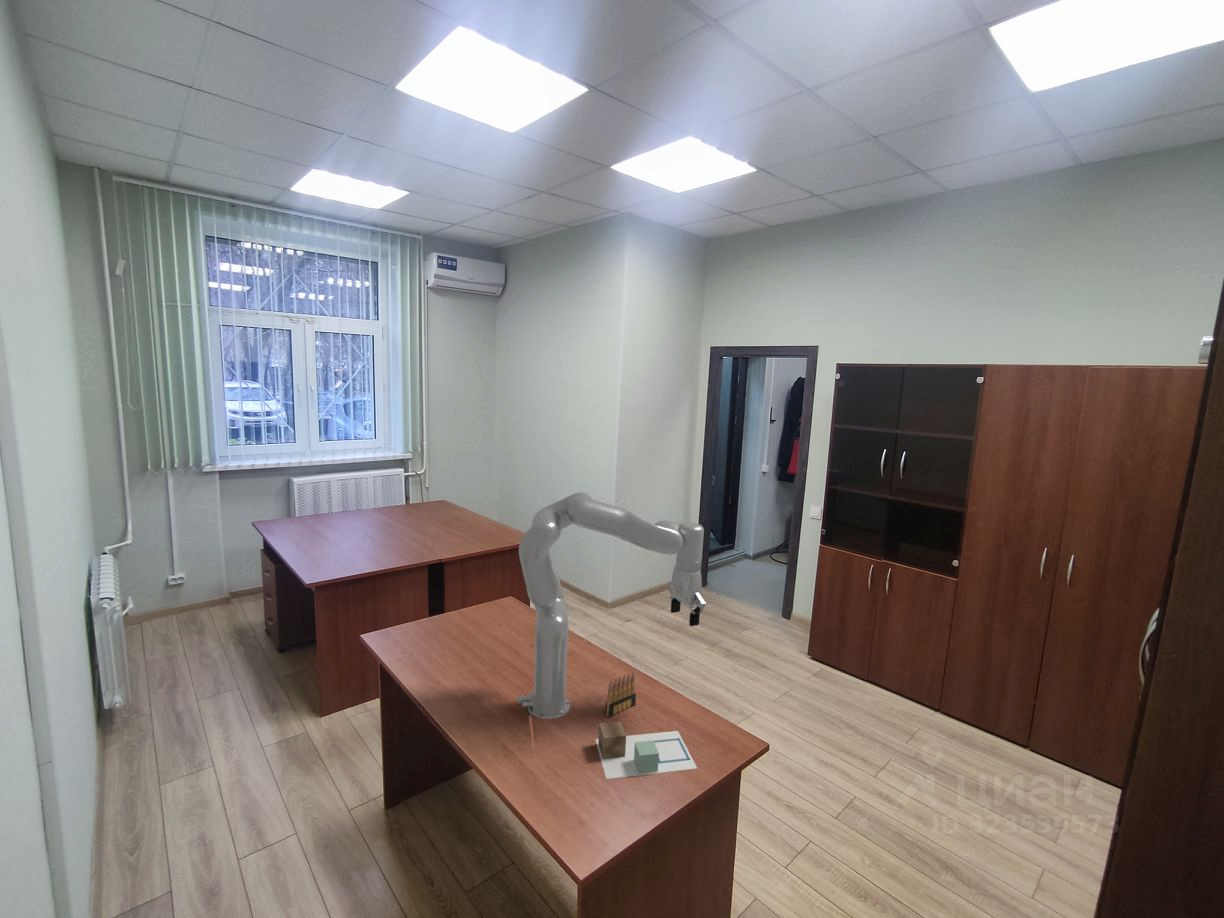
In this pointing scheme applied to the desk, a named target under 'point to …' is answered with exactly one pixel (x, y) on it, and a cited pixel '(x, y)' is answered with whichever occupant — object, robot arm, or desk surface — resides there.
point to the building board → (670, 755)
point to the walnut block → (612, 740)
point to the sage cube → (646, 757)
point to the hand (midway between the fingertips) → (684, 618)
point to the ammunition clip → (621, 695)
